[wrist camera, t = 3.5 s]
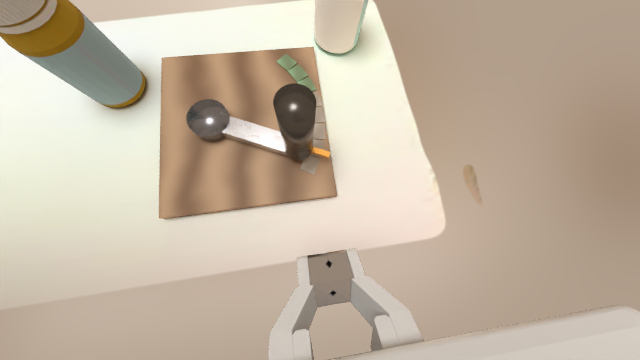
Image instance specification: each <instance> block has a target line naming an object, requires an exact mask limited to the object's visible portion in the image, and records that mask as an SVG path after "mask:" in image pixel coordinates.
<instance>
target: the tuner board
mask: <svg viewBox="0 0 640 360" xmlns="http://www.w3.org/2000/svg"><path fill="white" fill-rule="evenodd" d="M292 83H297V84H302V85H304V86H306V87H308V88H309V89H310V90H311V91H312V92H313V93H314V95H315V98H316V115H315V128H314V142H313V147H316V148H319V149H322V150H326V151H329V152H330V149H329V142H328V136H327V130H326V123H325V116H324V109H323V104H322V98H321V92H320V85H319V79H318V73H317V66H316V60H315V54H314V47H305V48H291V49H277V50H263V51H249V52H235V53H221V54H207V55H193V56H179V57H165V58H162V72H161V126H160V180H159V218H163V219H167V218H174V217H182V216H190V215H197V214H205V213H213V212H220V211H228V210H236V209H243V208H251V207H259V206H266V205H274V204H282V203H289V202H297V201H305V200H312V199H320V198H328V197H335V196H336V195H337V193H336V187H335V180H334V174H333V168H332V161H331V155H329V158H325V157H321V156H318V155H315V154H312V153H311V155H310V156H309V157H308V158H306V159H304V161H301V160H294V159H292V158H290V157H289V156H285V155H282V154H279V153H276V152H272V151H269V150H266V149H263V148H260V147H256V146H253V145H250V144H247V143H244V142H240V141H237V140H234V139H231V138H227V137H225V138H224V139H222V140H220V141H216V142H208V141H205V140H202V139H201V138H199V137H198V136H197V135H196V134H195V133H194V132H193V131H192V130H191V129H190V128H189V126H188V124H187V120H186V117H187V113H188V111H189V109H190V108H191V107H192V106H193V105H194V104H195V103H196V102H198V101H201V100H205V99H213V100H216V101H219V102H220V103H222V104H223V105H224V106H225V108H226V109H227V111H228V113H229V114H230V116H231V117H234V118H237V119H241V120H244V121H247V122H250V123H254V124H257V125H260V126H263V127H267V128H270V129H273V130H276V131H280V129H279V125H278V121H277V117H276V114H275V110H274V106H273V99H274V96H275V94H276V92H277V91H278V90H279V89H280V88H281V87H283V86H285V85H287V84H292Z"/></svg>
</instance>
